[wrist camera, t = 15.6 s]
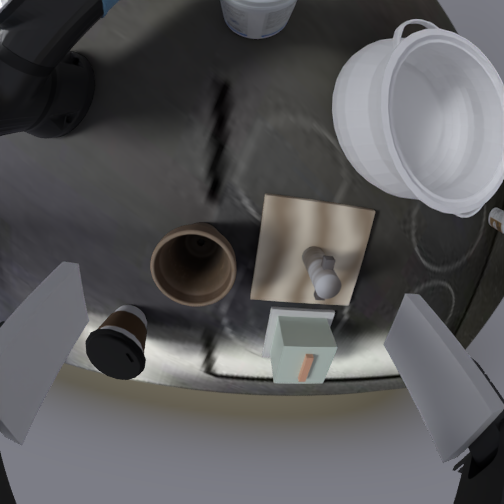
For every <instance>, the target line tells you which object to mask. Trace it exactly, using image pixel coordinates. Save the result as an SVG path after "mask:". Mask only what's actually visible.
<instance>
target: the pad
mask: <svg viewBox="0 0 504 504" xmlns="http://www.w3.org/2000/svg"><path fill="white" fill-rule="evenodd" d="M334 314H335V311H334V310H321V309H302V308H286V307H272V306H271V311H270V316H269V321H268V326H267V331H266V336H265V341H264V346H263V351H262V357H270V358H271V356H270V350H271V346H272V342H273V337H274V333H275V328H276V324H277V319H278V316H290V317H309V318H326V319H327V321H328V324H329V326H331V323H332V320H333V317H334Z"/></svg>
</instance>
